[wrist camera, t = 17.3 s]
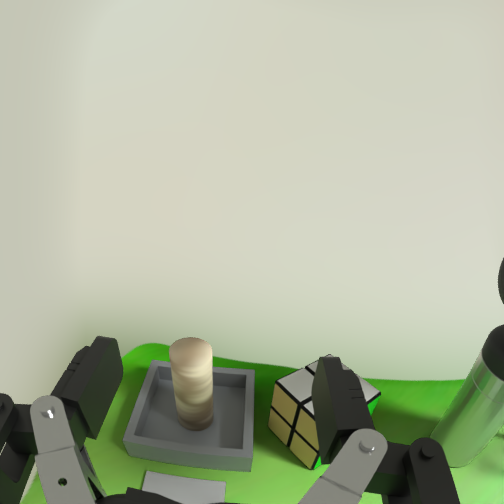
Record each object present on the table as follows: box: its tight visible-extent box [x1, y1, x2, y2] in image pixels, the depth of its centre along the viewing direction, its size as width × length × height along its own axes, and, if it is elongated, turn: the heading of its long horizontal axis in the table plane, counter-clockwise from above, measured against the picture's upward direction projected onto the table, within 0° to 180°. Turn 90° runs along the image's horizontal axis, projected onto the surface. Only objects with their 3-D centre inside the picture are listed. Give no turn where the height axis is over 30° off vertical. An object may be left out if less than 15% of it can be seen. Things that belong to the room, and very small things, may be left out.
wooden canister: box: [169, 337, 213, 431], centre depth 38 cm, size 5×5×13 cm
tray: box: [122, 360, 255, 472], centre depth 40 cm, size 16×16×4 cm
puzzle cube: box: [268, 354, 381, 470], centre depth 38 cm, size 10×10×10 cm
